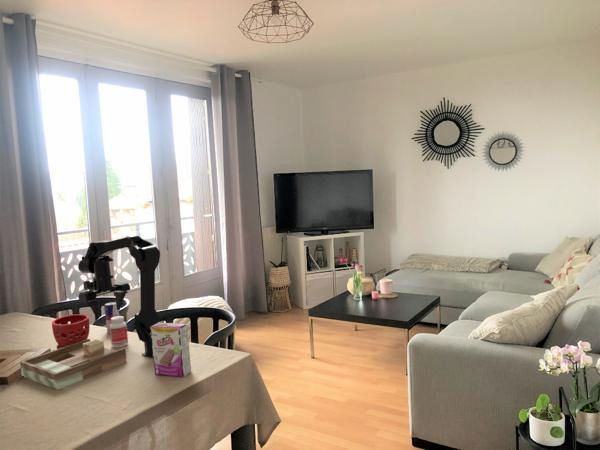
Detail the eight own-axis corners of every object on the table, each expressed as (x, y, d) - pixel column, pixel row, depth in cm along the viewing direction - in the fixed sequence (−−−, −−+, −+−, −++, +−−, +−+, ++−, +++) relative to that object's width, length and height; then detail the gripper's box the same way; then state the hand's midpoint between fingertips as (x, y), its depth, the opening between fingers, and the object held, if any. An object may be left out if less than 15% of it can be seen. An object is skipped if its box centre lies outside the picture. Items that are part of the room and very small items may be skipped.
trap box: (126, 362, 175) (125, 348, 174) (57, 389, 155) (55, 374, 154) (89, 351, 188) (88, 338, 188) (21, 375, 168) (20, 361, 168)
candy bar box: (153, 375, 161) (149, 326, 159) (162, 369, 166) (158, 321, 164) (183, 378, 158) (179, 328, 156) (192, 371, 162) (187, 323, 160)
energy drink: (108, 333, 209) (105, 306, 208) (106, 330, 214) (103, 303, 213) (121, 331, 212) (118, 303, 210) (119, 328, 216) (116, 301, 215)
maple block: (104, 352, 178) (103, 341, 177) (91, 356, 174) (90, 345, 173) (96, 349, 181) (95, 339, 180) (83, 354, 177) (82, 343, 176)
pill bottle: (131, 344, 193) (128, 316, 192) (115, 349, 189) (112, 320, 188) (124, 341, 198) (121, 314, 197) (109, 345, 194) (106, 318, 193)
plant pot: (47, 353, 189) (43, 322, 188) (74, 341, 201) (71, 312, 200) (73, 356, 184) (69, 324, 183) (99, 344, 196) (96, 314, 195)
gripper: (112, 268, 202) (117, 305, 204) (68, 277, 187) (73, 318, 189) (128, 269, 195) (133, 307, 197) (84, 279, 181) (89, 321, 182)
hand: (107, 313), depth 191 cm, fingers open, 9 cm apart
